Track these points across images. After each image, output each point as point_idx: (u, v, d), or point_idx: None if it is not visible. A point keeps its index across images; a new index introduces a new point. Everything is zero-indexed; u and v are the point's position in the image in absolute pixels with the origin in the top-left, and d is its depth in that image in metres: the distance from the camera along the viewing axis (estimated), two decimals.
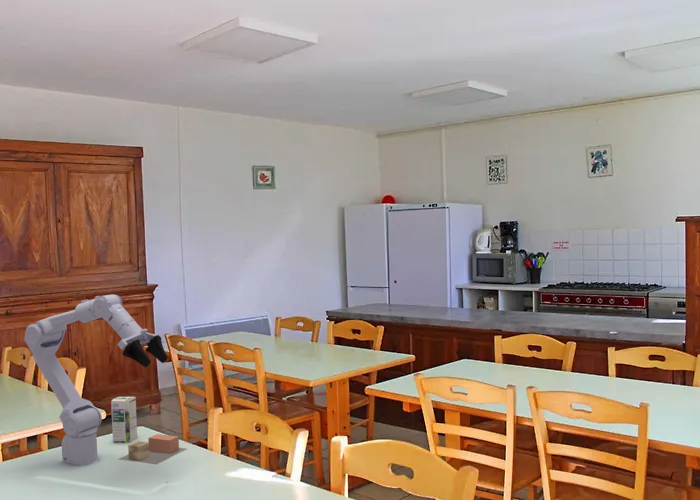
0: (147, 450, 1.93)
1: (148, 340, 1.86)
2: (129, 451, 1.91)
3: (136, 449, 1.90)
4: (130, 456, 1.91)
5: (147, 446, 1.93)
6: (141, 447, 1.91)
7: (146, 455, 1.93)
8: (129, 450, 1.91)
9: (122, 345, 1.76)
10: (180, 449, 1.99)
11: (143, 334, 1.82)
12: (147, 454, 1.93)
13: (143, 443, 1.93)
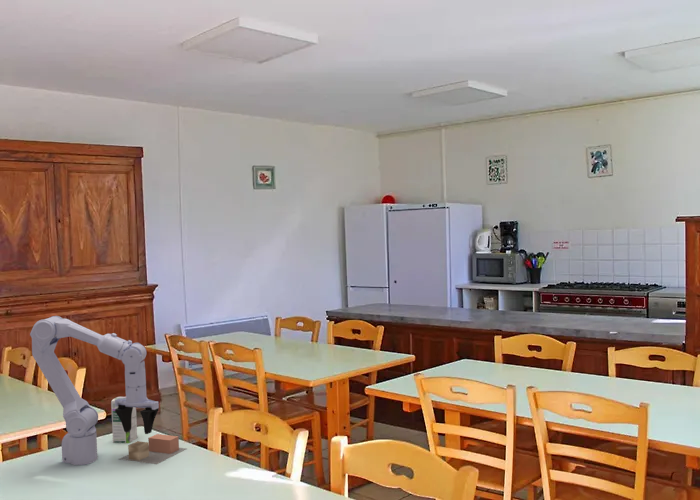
0: (147, 450, 1.93)
1: None
2: (129, 451, 1.91)
3: (136, 449, 1.90)
4: (130, 456, 1.91)
5: (147, 446, 1.93)
6: (141, 447, 1.91)
7: (146, 455, 1.93)
8: (129, 450, 1.91)
9: (156, 406, 1.90)
10: (180, 449, 1.99)
11: None
12: (147, 454, 1.93)
13: (143, 443, 1.93)
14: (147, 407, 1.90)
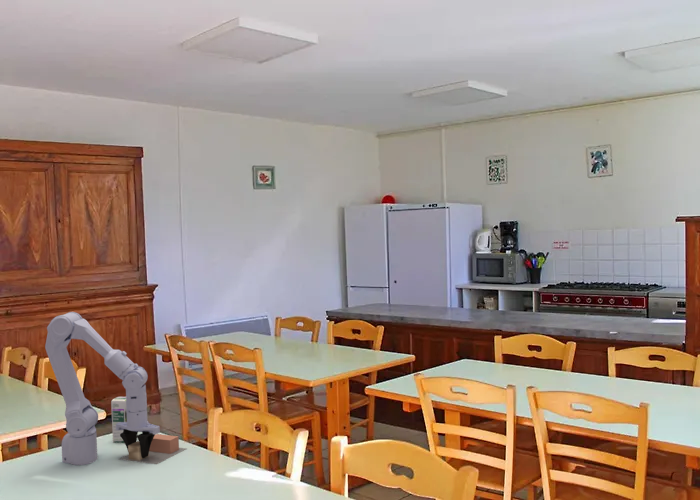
0: None
1: None
2: (129, 451, 1.91)
3: (136, 449, 1.90)
4: (130, 456, 1.91)
5: None
6: None
7: None
8: (129, 450, 1.91)
9: (157, 431, 1.90)
10: (180, 449, 1.99)
11: None
12: None
13: None
14: (148, 431, 1.90)
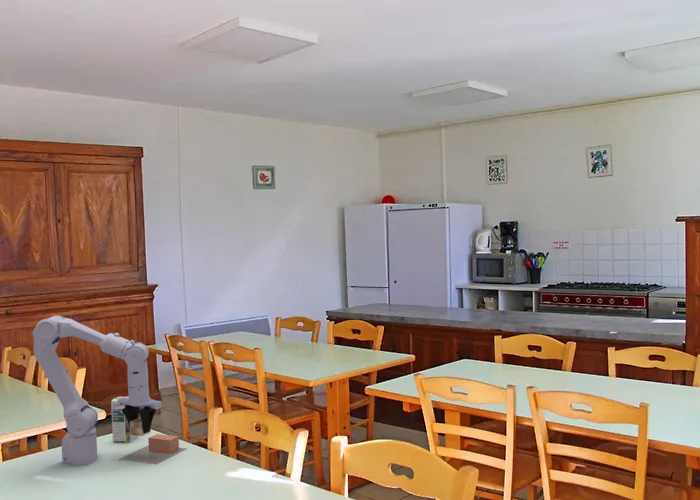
0: None
1: None
2: (131, 427, 1.92)
3: (138, 425, 1.91)
4: (132, 432, 1.92)
5: None
6: None
7: None
8: (131, 426, 1.92)
9: (159, 406, 1.90)
10: (180, 449, 1.99)
11: None
12: None
13: None
14: (150, 407, 1.91)
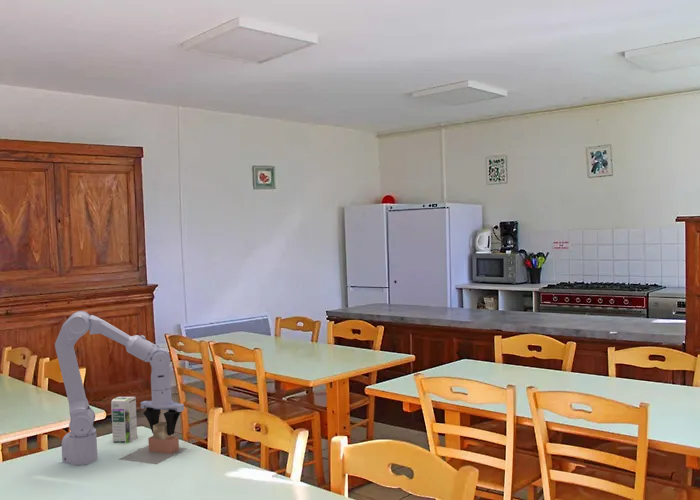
0: None
1: None
2: (154, 431, 1.97)
3: (161, 429, 1.96)
4: (155, 436, 1.97)
5: None
6: (165, 427, 1.96)
7: (170, 435, 1.98)
8: (154, 430, 1.97)
9: (182, 409, 1.95)
10: (180, 449, 1.99)
11: None
12: None
13: None
14: (172, 409, 1.96)
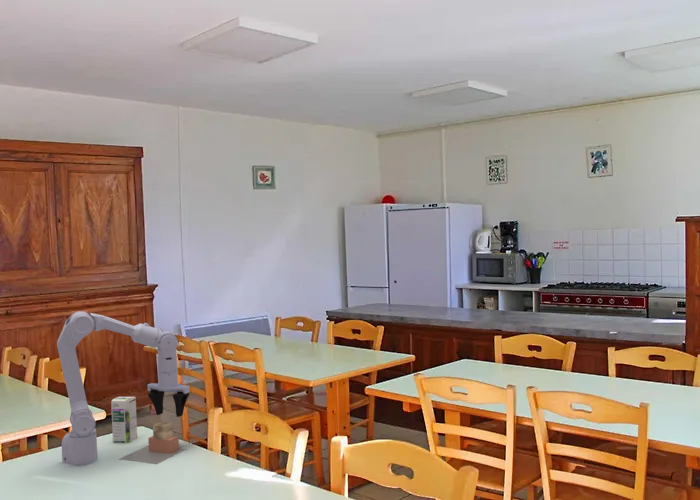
0: (171, 430, 1.99)
1: None
2: (154, 431, 1.97)
3: (161, 429, 1.96)
4: (155, 436, 1.97)
5: (171, 427, 1.99)
6: (165, 427, 1.96)
7: (170, 435, 1.98)
8: (154, 430, 1.97)
9: (188, 391, 2.00)
10: (180, 449, 1.99)
11: None
12: (171, 434, 1.99)
13: (167, 423, 1.98)
14: (179, 391, 2.00)
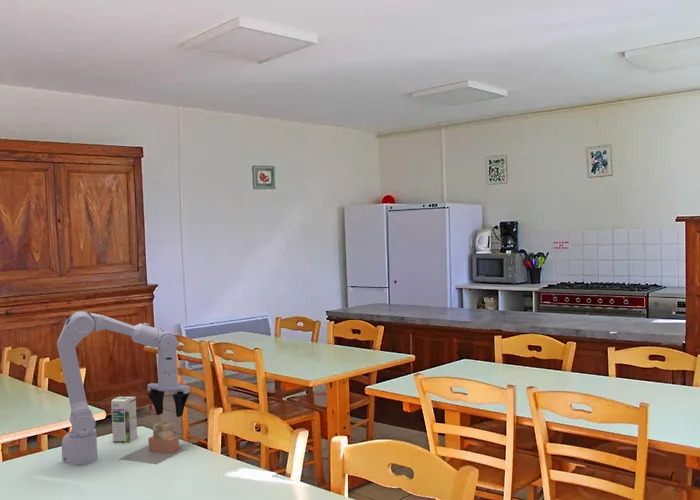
0: (171, 430, 1.99)
1: None
2: (154, 431, 1.97)
3: (161, 429, 1.96)
4: (155, 436, 1.97)
5: (171, 427, 1.99)
6: (165, 427, 1.96)
7: (170, 435, 1.98)
8: (154, 430, 1.97)
9: (188, 391, 2.00)
10: (180, 449, 1.99)
11: None
12: (171, 434, 1.99)
13: (167, 423, 1.98)
14: (179, 391, 2.00)
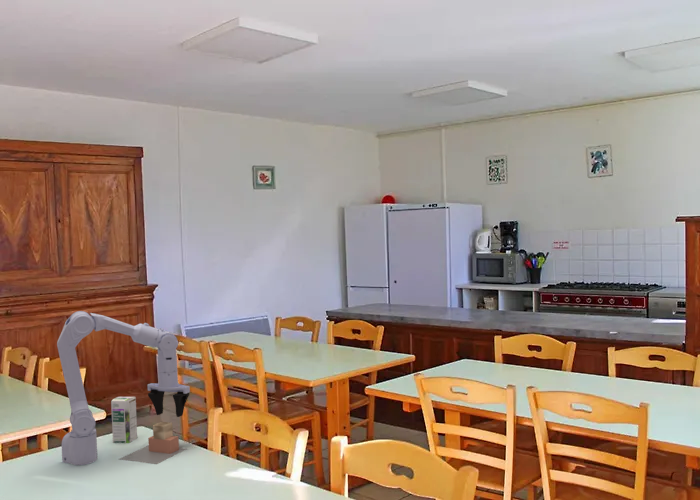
0: (171, 430, 1.99)
1: None
2: (154, 431, 1.97)
3: (161, 429, 1.96)
4: (155, 436, 1.97)
5: (171, 427, 1.99)
6: (165, 427, 1.96)
7: (170, 435, 1.98)
8: (154, 430, 1.97)
9: (188, 391, 2.00)
10: (180, 449, 1.99)
11: None
12: (171, 434, 1.99)
13: (167, 423, 1.98)
14: (179, 391, 2.00)
